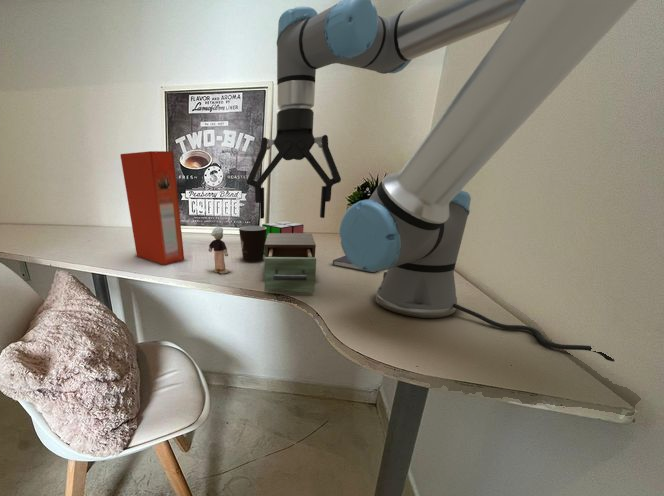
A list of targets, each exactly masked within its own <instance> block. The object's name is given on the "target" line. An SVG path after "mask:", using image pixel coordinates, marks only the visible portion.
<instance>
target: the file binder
mask: <svg viewBox="0 0 664 496" xmlns="http://www.w3.org/2000/svg"><path fill="white" fill-rule="evenodd" d="M119 156H120V161H121V168H122V173H123V174H122V175H123V180H124V186H125V191H126V198H127V199H126V200H127V203H128V210H129V211H128V212H129V216H130V223H131V229H132V235H133V240H134V247H135V253H136V256H137V257H138V258H142V259H145V260H147V261H151V262H153V263H156V264H159V265H163V266H166V265H167V266H168V265H170V264H174V263H175V264H176V263H178V262H183V261H184V260H185V254H184V243H183V242H184V241H183V235H182V225H181V215H180V206H179V195H178V186H177V177H176V167H175V166H176V165H175V158H174V151H173V150H171V151H169V150H168V151H167V150H166V151H165V150H161V151H160V150H159V151H157V150H152V151H151V150H150V151H139V152H127V153H121V154H119Z"/></svg>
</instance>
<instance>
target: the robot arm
mask: <svg viewBox="0 0 664 496" xmlns="http://www.w3.org/2000/svg"><path fill="white" fill-rule="evenodd" d="M637 2H638V0H420V1H418V2H416V3H414V4H412V5H411V6H408V7H406V8H405V9H403V10H401V11H399V12H397V13H395V14H394V15H391V16H388V17H384V16H381V15H378V11H377V8H376V5H375V4H373V2H372V0H340V1H338V3H335V4H334V5H332V6H330V7H328V8H327V9H325V10H323V11H320V13H318V12H317V10H316V9H315V8H313V7H310V6H295V7H294V8H289V9H286V10H285V11H284V12H283V13H281V15H279V18H278V23H277V25H278V26H277V37H276V73H277V74H276V109H277V110H278V111H277V113H276V130H275V131H276V132H275V133H276V135H275V138H267V137H262V138H261V140H260V141H261V142H260V149H259V152H258V154H257V156H256V159H255V161H254V164H253V166H252V168H251V170H250V173H249V175H248V178H247V179H246V184H247V185H249V186H252V187H253V189H254V202H255V203H256V204H259V209H260V210H259V217H260V218H259V219H265V187H262V185H263V184H264V183H265V181H266V180H267V179H268V177H269V176H270V175H271V173H272V172H273V171H274V169H275V168H276V167H277V165H278V164H279V163H280V161H281V160H282V159H283V160H285V161H292V160H295V161H302V160H304V159H306V161H307V162H308V164H310V166H311V167H312V169H313V170H314V171H315V172H316V174H317V175H318V177H319V178H320V179H321V180H322V181H323V183H324V184H325V185H323V186H322V185H321V194H320V207H319V208H320V210H319V218H321V219H325V216H326V215H325V214H326V203H327V202H328V203H329V202H331V201H332V200H331V199H332V190H333V189H332V188H333V186H334V185H335V184H339V183H341V181H342V178H341V175H340V173H339V170H338V167H337V165H336V163H335V160H334V158H333V155H332V152H331V150H330V147H329V136H328V135H327V134H323V135H321V136H316V137H314V113H315V111H314V110H313V109H312V108H313V107H314V106H315V98H316V97H315V95H316V94H315V93H316V72H317V70H319V69H321V68H324V67H327V66H330V65H334V64H335V65H336V64H340V65H344V66H349V67H353V68H359V69H364V70H368V71H373V72H376V73H379V74H397V73H399V72H401V71H403V70H404V69H405V68H406V67H407V66H408V65H409V64H410V63H411V62H412V60H414V59H416V58H419V57H422V56H424V55H426V54H429V53H431V52H434V51H437V50H439V49H442V48H444V47H447V46H450V45H452V44H455V43H457V42H459V41H462V40H465V39H467V38H470V37H472V36H475V35H477V34H481V33H483V32H485V31H487V30H490V29H494V28H496V27H498V26H500V25H503V24H506V23H507V22H508V24H507V26H505V28H504V29H503V30H502V31H501V33H500V35H499V36H498V37H497V39H496V40H495V42H494V43H493V44H492V46H491V47H490V48H489V50H488V51H487V52H486V54H485V55H484V57H483V58H482V59H481V61H480V62H479V64H478V65H477V66H476V68H474V70H473V72H472V73H471V74H470V76H469V77H468V79H467V80H466V81H465V82H464V84H463V85H462V87H461V88H460V89H459V91H457V94H456V95H455V96H454V98H453V99H452V101H451V102H450V103H449V105H448V106H447V107H446V108H445V110H444V111H443V113H442V114H441V116H439V118H438V119H437V121H436V122H435V124H434V125H433V126H432V128H431V129H430V130H429V132H428V133H427V134H426V136H425V137H424V139H423V140H422V141H421V143H419V145H418V147H417V148H416V149H415V151H414V152H413V154H412V155H411V156H410V157H409V159H408V160H407V161H406V163H405V165H404V166H403V167H402V169H401V170H400V171H396V172H393V173H388V174H386V175H385V176H384V177H383V178H382V179H381V180H380V182H379V184H378V185H377V187H376V188H375V190H374V191H373V192H372V194H371V195H370V197H369V198H368V199H363V200H359V201H357V202H356V203H353V204H352V205H351V206H349V207H348V208H347V209H346V211H345V212H344V214H343V215H342V218H341V221H340V225H339V237H340V246H341V249H342V251H343V253H344V256H346V257H347V258H348V260H349V261H350V262H351V263H352V264H353V265H355V266H356V267H358V268H359V269H362V270H365V271H377V272H382V271H384V272H383V275H382V276H383V277H382V278H383V279H382V280H381V282H380V285H379V286H378V288H377V290H376V294H375V302H376V303H377V304H378V306H380V307H382V308H384V309H385V310H387V311H389V312H393V313H395V314H399V315H402V316H403V315H404V316H407V317H413V318H421V319H436V318H437V319H439V318H444V317H447V316H448V317H449V316H451V315H452V314H454V313H455V312H456V310H459V311H461V312H463V313H466V314H468V315H471V316H472V317H475V318H477V319H479V320H481V321H483V322H485V323H487V324H489V325H492V326H494V327H497V328H500V329H504V330H523V331H528V332H530V333H532V334H534V336H535V338H537V340H538V341H539V343H541V344H543V345H544V346H547V347H550V348H553V349H558V350H567V351H568V350H569V351H588V352H593V353H596V354H598V355H599V356H602V357H603V358H604V359H605V360H606V361H609V362H615V361H616V360H615V358H613V359H612V358H611V357H609V356H607V355H606V354H604V353H602V352H596V351H591V349H592V348H591V345H584V344H560V343H556V342H552V341H550V340H547V339H546V338H545V337H544V336H543V334H542V333H541V332H540V331H539V330H538V329H536V328H534V327H531V326H527V325H521V324H505V323H500V322H497V321H495V320H493V319H490V318H488V317H486V316H484V315H483V314H481V313H478V312H475V311H473V310H471V309H469V308H466V307H464V306H461V305H460V304H458V298H457V290H456V289H457V288H456V281H455V268H456V265H457V261H458V257H459V253H460V248H461V244H462V240H463V236H464V233H465V228H466V224H467V221H468V218H469V215H470V213H471V211H470V207H471V200H472V198H471V194H470V193H469V192H467V191H465V190H463V189H464V187H466V186H467V185H468V183H469V182H470V181H471V180H472V179H473V178H474V177H475V176H476V175H477V174H478V173H479V172H480V171H481V169H482V168H483V167H484V166H485V165H486V164H487V163H488V162H489V161H490V160H491V159H492V158H493V157H494V155H496V154H497V152H498V151H499V150H500V149H501V148H502V147H503V146H504V145H505V143H507V141H508V140H509V139H510V138H511V137H512V136H513V135H514V134H515V133H516V132H517V131H518V130H519V129H520V128H521V127H522V126H523V124H524V123H525V122H526V121H527V120H528V119H529V118H530V117H531V116H532V115H533V114H534V112H536V110H537V109H538V108H539V107H540V106H541V105H542V104H543V103H544V102H545V100H546V99H547V98H548V97H549V96H550V95H551V94H552V93H553V92H554V91H555V90H556V89H557V88H558V87H559V85H561V83H563V81H565V79H566V78H567V77H568V76H569V75H570V74H571V73H572V72H573V71H574V69H575V68H577V66H578V65H579V64H580V63H581V62H582V61H583V60H584V59H585V58H586V56H587V55H588V54H589V53H590V52H591V51H592V50H593V49H594V48H595V47H596V46H597V45H598V44H599V43H600V41H601V40H603V38H604V37H605V36H606V35H607V34H608V33H609V32H610V31H611V30H612V28H614V27H615V25H616V24H617V23H618V22H619V21H620V20H621V19H622V18H623V17H624V16H625V15H626V14H627V12H628V11H630V9H632V7H633V6H635V4H636V3H637ZM315 144H316V145H317V148H318V149H321V152H322V155H323V157H324V160H325V161H326V165H327V167H328V170H329V172H330V174H331V175H330V176H331V177H332V178H330V177H329V176H328V174H327V173H326V172H325V171H324V169H323V167H322V166H321V165H320V163H319V162H318V161H317V160H316V158H315V156H313V154H312V152H311V149H312V148H313V146H314V145H315ZM273 146H274V147H275V149H276V150H277V152H278V153H276V155H275V157H273V159H272V160H271V162H270V163H269V165H268V166H267V167H266V168H265V169H264V171H263V172H262V173H261V175H260V176H259V178H258V179H257V180H256V177H257V175H258V172H259V170H260V168H261V165H262V163H263V161H264V159H265V156H266V154H267V152H268V151H270V149H271V148H272V147H273ZM378 270H379V271H378ZM365 271H364V272H365Z"/></svg>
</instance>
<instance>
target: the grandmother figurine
mask: <svg viewBox="0 0 664 496" xmlns="http://www.w3.org/2000/svg"><path fill="white" fill-rule="evenodd" d="M223 233H224V229H223V227H221V226H215V227H214V228H213V230H212V231H211V234H210V235H211V236H212V237H214V240H212V241H211V242H210V244H209V245H208V252H210V253H212V252H214V256H213V257H214V259H213V260H214V270H213V273H218V274H220V275H225V274H229V270H228V269H226V263H225V257H228V256H229V253H228V247H227V245H226V243H225V241H223V240H222V239H223V237H224V234H223Z"/></svg>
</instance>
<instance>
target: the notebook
mask: <svg viewBox="0 0 664 496" xmlns="http://www.w3.org/2000/svg"><path fill="white" fill-rule="evenodd" d="M332 266H336V267H341V268H346V269H351V270H356V271H361V272H367V273H370V274H371V273H376V272H380V271H379V270H378V271H365V270H362V269H359V268H358V267H356V266H355V265H353V264H352V263H351V262H350V261H349V260H348V258H347V257H346V255H343V256H341V257H338V258H335V259H333V260H332Z"/></svg>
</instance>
